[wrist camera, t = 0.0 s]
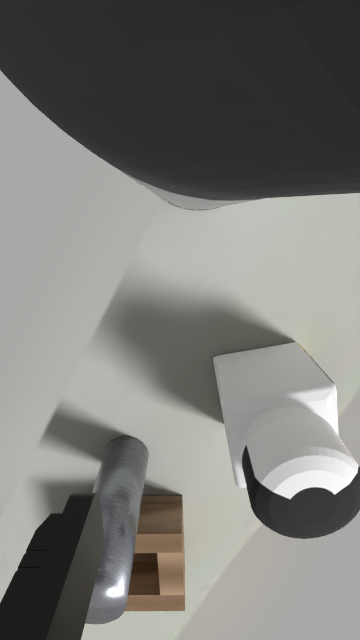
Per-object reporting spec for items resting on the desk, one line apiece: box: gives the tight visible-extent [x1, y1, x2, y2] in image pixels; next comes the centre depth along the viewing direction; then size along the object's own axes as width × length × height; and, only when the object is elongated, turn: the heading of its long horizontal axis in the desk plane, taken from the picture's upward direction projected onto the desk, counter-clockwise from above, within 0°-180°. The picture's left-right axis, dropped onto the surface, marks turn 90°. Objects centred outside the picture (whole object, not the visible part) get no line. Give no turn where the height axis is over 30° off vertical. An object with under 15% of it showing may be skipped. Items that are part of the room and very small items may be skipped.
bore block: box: [125, 495, 185, 611], centre depth 31 cm, size 10×10×4 cm
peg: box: [85, 436, 149, 624], centre depth 24 cm, size 4×4×12 cm
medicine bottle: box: [213, 342, 360, 539], centre depth 22 cm, size 7×7×12 cm
